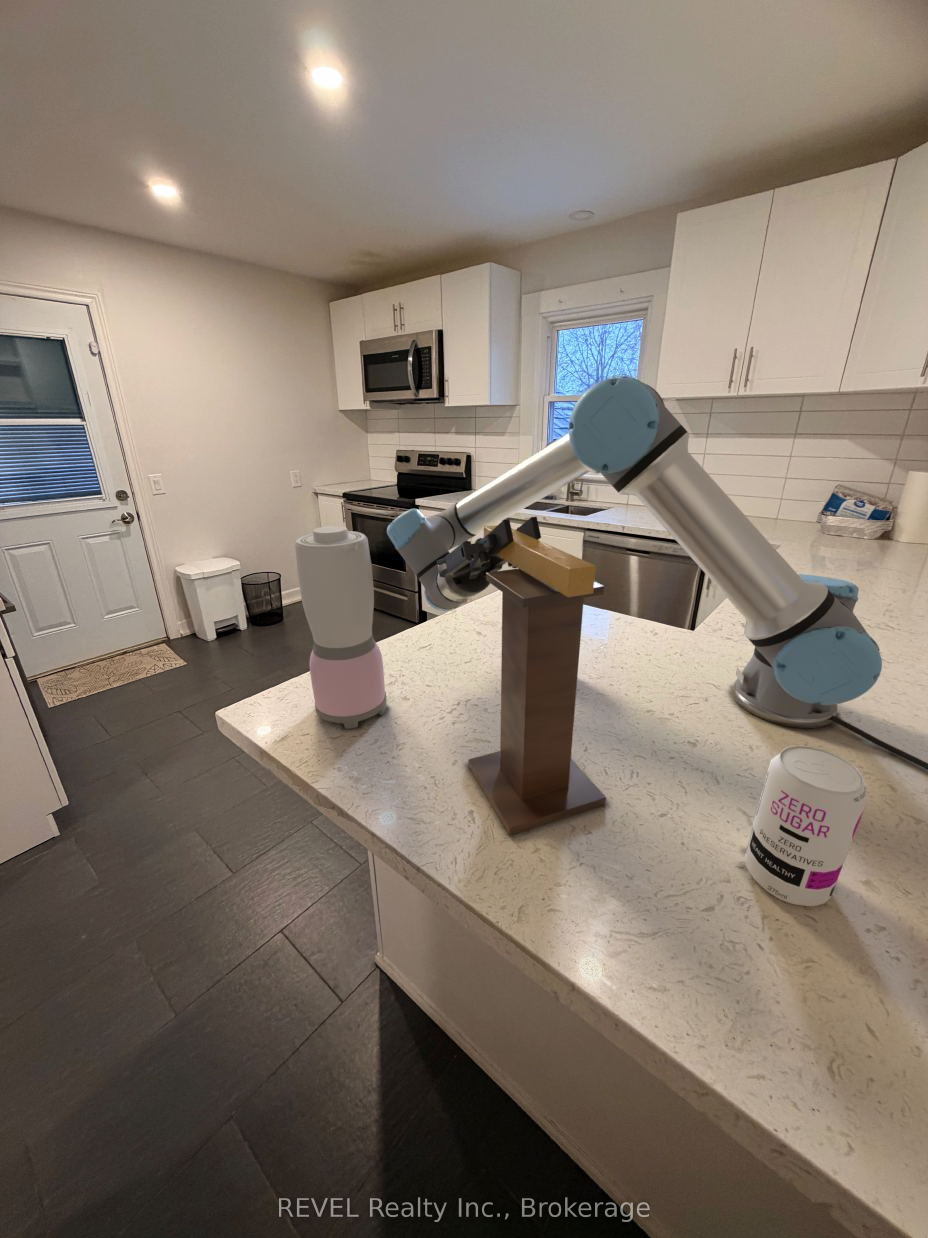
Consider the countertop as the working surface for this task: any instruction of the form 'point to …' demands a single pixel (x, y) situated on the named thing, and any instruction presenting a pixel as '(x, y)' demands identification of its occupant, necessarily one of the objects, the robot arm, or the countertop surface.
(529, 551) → the golden brown bar
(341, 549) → the blender
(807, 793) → the supplement can
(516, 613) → the brown pedestal stand
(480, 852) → the countertop surface
